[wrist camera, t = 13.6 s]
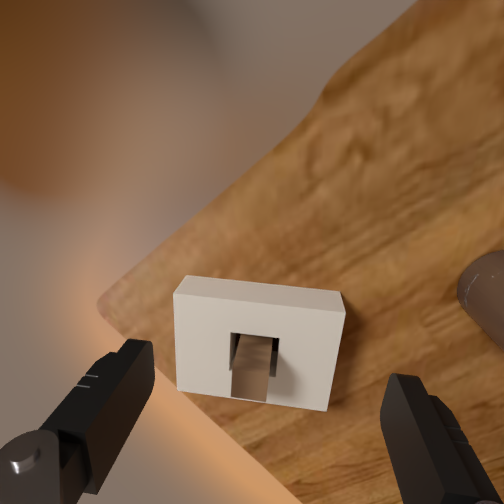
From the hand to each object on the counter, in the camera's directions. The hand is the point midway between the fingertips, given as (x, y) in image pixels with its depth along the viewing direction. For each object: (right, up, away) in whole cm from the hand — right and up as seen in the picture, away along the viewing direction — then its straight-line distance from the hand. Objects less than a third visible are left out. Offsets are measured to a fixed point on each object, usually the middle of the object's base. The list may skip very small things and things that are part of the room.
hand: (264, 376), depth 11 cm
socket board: (0, -7, +33) cm, 34 cm away
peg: (0, -7, +33) cm, 34 cm away
